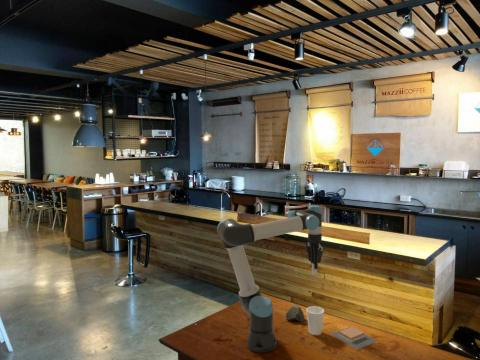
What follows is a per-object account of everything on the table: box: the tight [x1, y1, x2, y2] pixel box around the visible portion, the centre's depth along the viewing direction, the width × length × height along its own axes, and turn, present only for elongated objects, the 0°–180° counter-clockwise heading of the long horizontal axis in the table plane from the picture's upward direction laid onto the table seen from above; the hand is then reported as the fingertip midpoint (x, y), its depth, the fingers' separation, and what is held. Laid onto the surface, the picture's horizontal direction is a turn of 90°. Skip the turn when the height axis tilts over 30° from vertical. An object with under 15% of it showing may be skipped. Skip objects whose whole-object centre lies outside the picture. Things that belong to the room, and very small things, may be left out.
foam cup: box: [305, 305, 325, 336], centre depth 200 cm, size 10×9×13 cm
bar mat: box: [330, 326, 378, 350], centre depth 195 cm, size 15×18×1 cm
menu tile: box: [338, 326, 365, 342], centre depth 196 cm, size 10×2×8 cm
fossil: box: [285, 304, 306, 323], centre depth 219 cm, size 11×9×10 cm
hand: (314, 274), depth 210 cm, fingers closed
